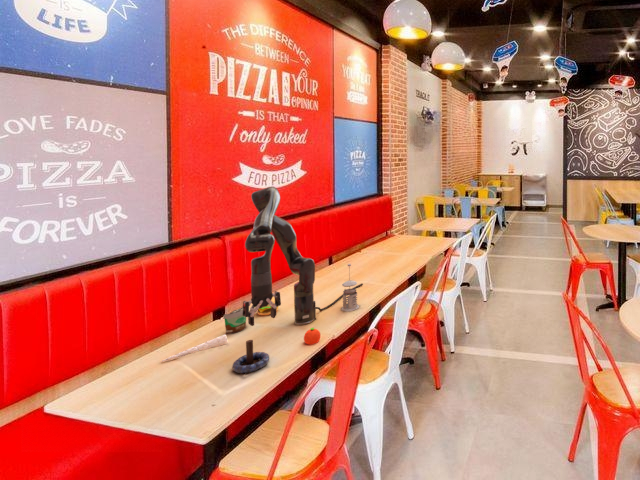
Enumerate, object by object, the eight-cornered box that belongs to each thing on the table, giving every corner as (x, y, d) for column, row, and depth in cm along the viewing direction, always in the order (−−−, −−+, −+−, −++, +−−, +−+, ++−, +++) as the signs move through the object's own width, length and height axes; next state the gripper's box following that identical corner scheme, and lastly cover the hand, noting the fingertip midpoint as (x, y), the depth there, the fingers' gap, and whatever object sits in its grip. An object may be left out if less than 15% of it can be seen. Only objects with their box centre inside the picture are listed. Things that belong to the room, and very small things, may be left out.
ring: (259, 354, 163) (258, 348, 163) (275, 362, 156) (275, 355, 156) (226, 368, 152) (226, 362, 152) (242, 377, 146) (242, 371, 146)
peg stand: (256, 361, 160) (255, 333, 160) (267, 367, 155) (266, 339, 155) (232, 371, 153) (232, 342, 153) (243, 378, 148) (242, 348, 148)
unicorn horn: (160, 359, 163) (160, 348, 163) (226, 342, 177) (226, 332, 177) (159, 364, 159) (159, 352, 159) (227, 346, 174) (227, 336, 174)
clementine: (304, 341, 177) (303, 326, 177) (320, 338, 180) (320, 323, 180) (303, 349, 170) (303, 333, 170) (320, 346, 172) (320, 330, 172)
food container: (234, 336, 184) (233, 315, 184) (223, 335, 185) (223, 314, 185) (254, 324, 196) (253, 305, 196) (244, 324, 197) (243, 304, 197)
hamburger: (257, 318, 204) (257, 302, 203) (253, 312, 213) (252, 296, 212) (282, 312, 211) (282, 296, 211) (276, 306, 220) (276, 291, 220)
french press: (362, 304, 221) (361, 261, 220) (353, 312, 209) (352, 267, 209) (345, 304, 222) (344, 261, 221) (336, 312, 210) (335, 267, 210)
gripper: (273, 276, 166) (275, 313, 166) (238, 286, 154) (239, 325, 154) (283, 279, 162) (284, 317, 162) (247, 289, 150) (249, 330, 150)
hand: (262, 321), depth 158 cm, fingers open, 8 cm apart
